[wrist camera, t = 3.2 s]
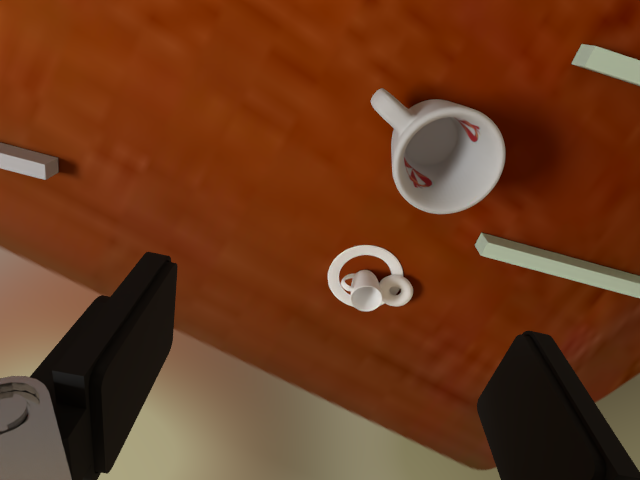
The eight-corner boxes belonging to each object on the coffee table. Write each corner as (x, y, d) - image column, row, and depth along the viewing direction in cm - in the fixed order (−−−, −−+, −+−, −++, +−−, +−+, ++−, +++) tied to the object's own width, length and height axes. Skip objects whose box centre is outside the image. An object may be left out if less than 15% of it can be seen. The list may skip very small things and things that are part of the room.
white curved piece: (422, 282, 45) (429, 306, 41) (365, 320, 47) (367, 346, 44) (369, 228, 42) (372, 249, 38) (312, 272, 45) (310, 295, 41)
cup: (339, 122, 36) (340, 148, 29) (403, 43, 33) (421, 52, 26) (427, 194, 39) (446, 234, 32) (493, 129, 36) (531, 157, 29)
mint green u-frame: (581, 44, 33) (599, 46, 30) (793, 113, 34) (825, 120, 32) (474, 245, 42) (482, 258, 39) (647, 292, 43) (664, 307, 41)
